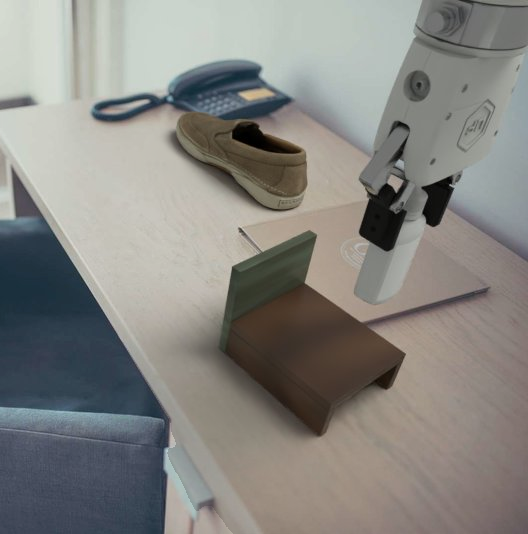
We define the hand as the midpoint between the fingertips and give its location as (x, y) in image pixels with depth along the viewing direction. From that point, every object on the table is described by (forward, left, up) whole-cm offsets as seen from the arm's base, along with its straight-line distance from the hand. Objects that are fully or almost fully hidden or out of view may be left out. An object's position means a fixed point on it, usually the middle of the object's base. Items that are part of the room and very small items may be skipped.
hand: (399, 228), depth 56 cm
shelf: (+5, 0, -22) cm, 22 cm away
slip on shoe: (+43, -25, -22) cm, 54 cm away
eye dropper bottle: (0, 0, -7) cm, 7 cm away
